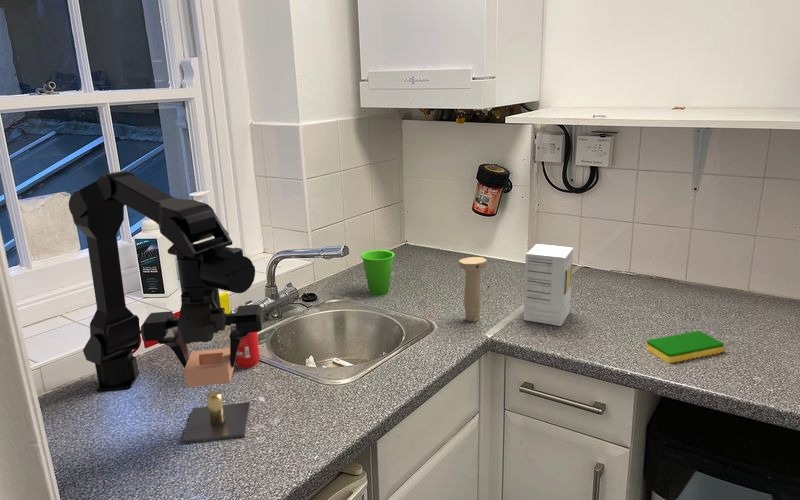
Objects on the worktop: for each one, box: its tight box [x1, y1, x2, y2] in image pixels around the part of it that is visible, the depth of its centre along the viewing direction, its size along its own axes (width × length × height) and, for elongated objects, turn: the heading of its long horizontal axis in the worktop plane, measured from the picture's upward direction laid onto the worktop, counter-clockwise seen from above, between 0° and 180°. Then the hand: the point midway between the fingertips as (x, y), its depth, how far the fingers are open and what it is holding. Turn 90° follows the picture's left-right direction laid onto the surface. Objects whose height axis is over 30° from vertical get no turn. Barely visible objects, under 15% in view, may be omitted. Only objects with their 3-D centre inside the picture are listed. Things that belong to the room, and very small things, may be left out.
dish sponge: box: [645, 330, 724, 364], centre depth 125 cm, size 7×14×2 cm, turn 107°
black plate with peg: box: [182, 390, 251, 444], centre depth 103 cm, size 10×10×6 cm
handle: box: [458, 256, 488, 323], centre depth 141 cm, size 5×6×15 cm
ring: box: [183, 347, 236, 388], centre depth 101 cm, size 7×7×3 cm
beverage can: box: [229, 307, 260, 369], centre depth 123 cm, size 5×5×12 cm
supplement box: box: [523, 243, 574, 327], centre depth 141 cm, size 10×9×17 cm
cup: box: [360, 249, 395, 297], centre depth 161 cm, size 9×9×11 cm
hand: (210, 368), depth 101 cm, fingers closed on ring, 7 cm apart
